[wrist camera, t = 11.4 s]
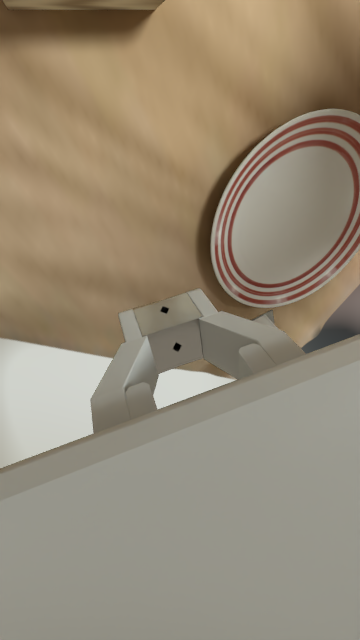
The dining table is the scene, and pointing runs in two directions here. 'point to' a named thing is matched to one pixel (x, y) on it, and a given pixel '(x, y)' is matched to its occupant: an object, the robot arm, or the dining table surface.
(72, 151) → the dining table surface
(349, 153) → the dinner plate
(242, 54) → the dining table surface
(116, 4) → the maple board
